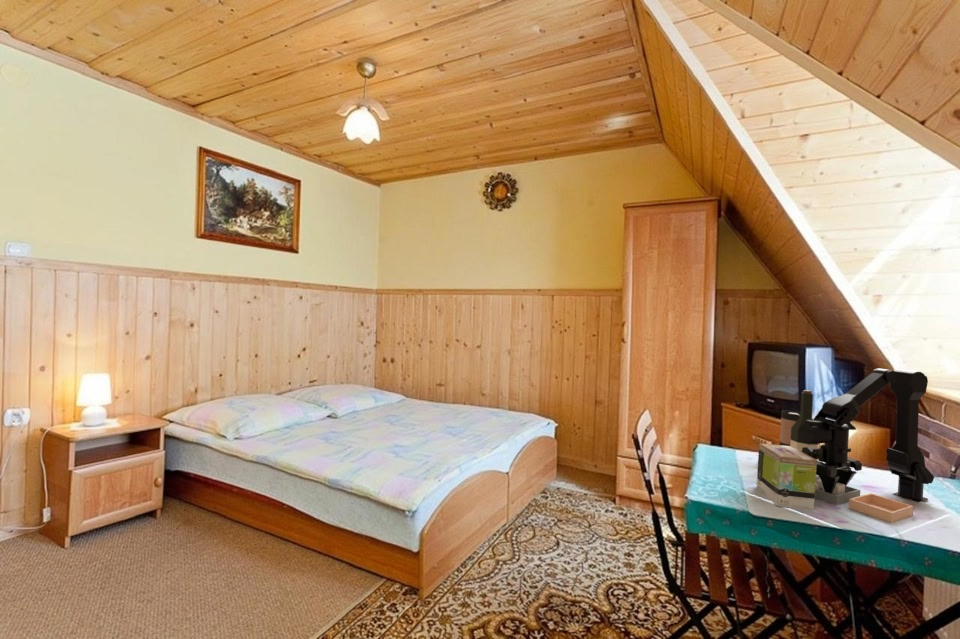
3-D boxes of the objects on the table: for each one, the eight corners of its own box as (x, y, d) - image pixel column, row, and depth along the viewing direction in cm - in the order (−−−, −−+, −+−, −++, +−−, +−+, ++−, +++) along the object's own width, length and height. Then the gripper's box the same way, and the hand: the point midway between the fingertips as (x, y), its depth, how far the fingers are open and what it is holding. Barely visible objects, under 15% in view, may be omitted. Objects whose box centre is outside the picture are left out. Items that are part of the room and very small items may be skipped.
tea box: (815, 511, 130) (818, 459, 130) (776, 507, 132) (779, 456, 132) (790, 491, 145) (792, 444, 145) (755, 488, 147) (757, 441, 147)
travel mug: (779, 461, 176) (782, 409, 176) (804, 466, 172) (807, 412, 171) (777, 466, 170) (779, 412, 170) (802, 471, 166) (805, 415, 165)
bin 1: (785, 475, 160) (786, 465, 160) (859, 499, 140) (860, 488, 140) (762, 480, 154) (763, 470, 154) (836, 506, 134) (837, 494, 134)
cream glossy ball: (818, 487, 148) (818, 477, 148) (829, 490, 146) (829, 480, 146) (812, 488, 147) (813, 478, 147) (823, 492, 144) (824, 482, 144)
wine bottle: (785, 471, 164) (790, 387, 164) (813, 475, 161) (818, 390, 161) (791, 479, 157) (796, 391, 156) (821, 483, 154) (826, 393, 153)
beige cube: (829, 493, 144) (830, 480, 144) (844, 497, 140) (845, 484, 140) (822, 494, 142) (823, 481, 142) (837, 499, 138) (838, 486, 138)
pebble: (809, 489, 146) (809, 479, 146) (820, 493, 143) (821, 482, 143) (803, 490, 145) (804, 480, 145) (814, 494, 142) (815, 484, 142)
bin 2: (869, 502, 138) (870, 493, 138) (912, 516, 129) (913, 506, 129) (848, 509, 133) (849, 498, 133) (891, 524, 124) (892, 513, 124)
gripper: (823, 433, 152) (821, 480, 152) (790, 439, 144) (788, 488, 144) (864, 443, 142) (861, 493, 142) (831, 449, 134) (828, 502, 134)
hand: (833, 494), depth 141 cm, fingers open, 6 cm apart
